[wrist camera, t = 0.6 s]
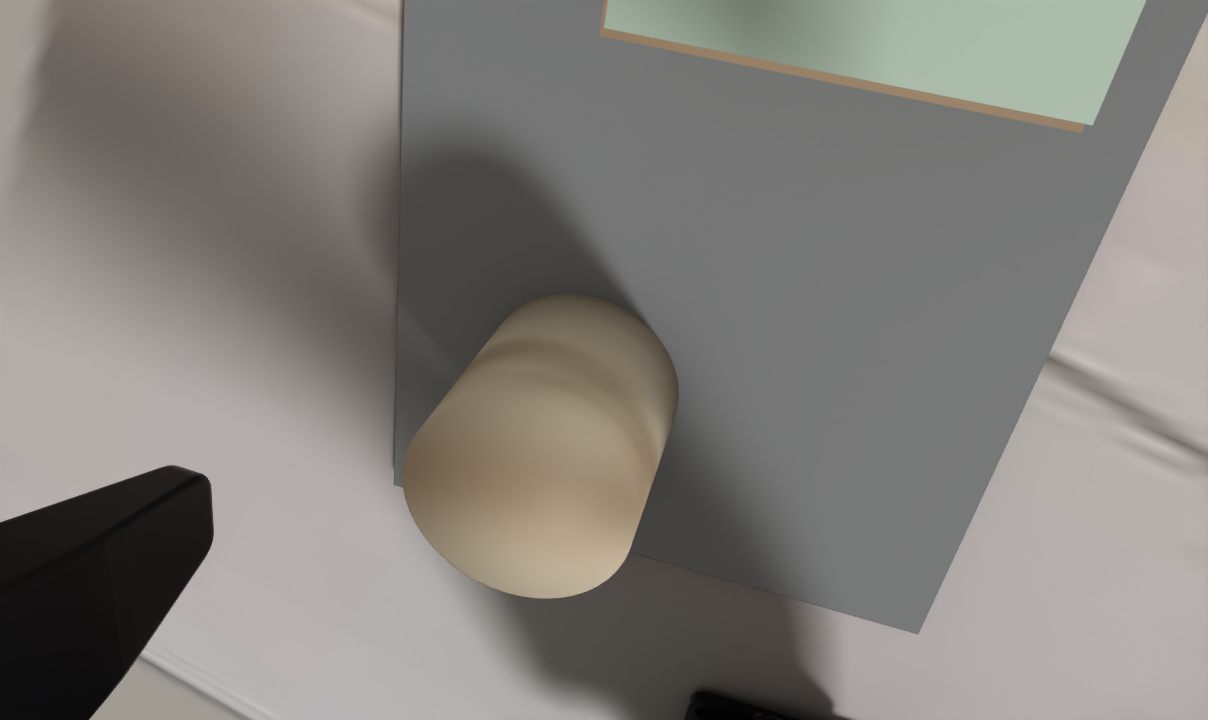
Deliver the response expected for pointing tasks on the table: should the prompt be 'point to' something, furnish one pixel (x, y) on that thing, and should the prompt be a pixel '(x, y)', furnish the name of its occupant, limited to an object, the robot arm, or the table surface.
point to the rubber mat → (763, 273)
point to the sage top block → (917, 43)
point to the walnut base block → (839, 79)
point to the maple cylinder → (545, 448)
